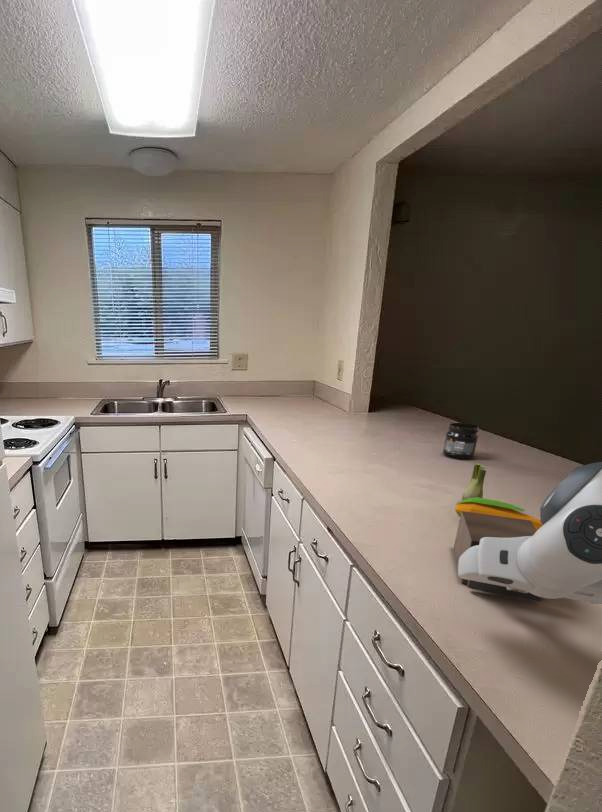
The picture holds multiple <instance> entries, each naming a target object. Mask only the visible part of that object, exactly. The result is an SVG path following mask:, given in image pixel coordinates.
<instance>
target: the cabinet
mask: <svg viewBox="0 0 602 812" xmlns="http://www.w3.org/2000/svg"><path fill="white" fill-rule="evenodd" d="M536 531H537V530H536V528H535V527H534V525H533V524H532V522H531V521H529V520H522V519H515V518H508V517H501V516H494V515H487V514H479V513H472V512H465V511H462V513H461V517H460V516H459V522H458V526H457V531H456V536H455V539H454V544H453V549H452V550H453V554H454V558H455V562H456V566H457V567H458V563H459V558H460V556H461V555H462V554H463V553H464V552H465V551H466V550H468V549H469V548H471V547H473V546H476V545H479V543H480V539H481V538H484V537H500V538H514V537H524V536H533V535H534V534H535V532H536ZM459 578H460V582H461V584H462V585H463V584H464V585H467V583H468V580H467V579H463V578H461V577H459Z"/></svg>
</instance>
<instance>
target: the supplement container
mask: <svg viewBox="0 0 602 812" xmlns="http://www.w3.org/2000/svg"><path fill="white" fill-rule="evenodd" d="M478 432H479V425H476V424H473V423H467V422H466V423H465V422H452V423H450V424H448V431H446V433H445V440H444V445H443V449H442V454H443V455H444V456H445V457H447V458H450V459H456V460H471V459H473V458H474V456H475V451H476V447H477V442H478V439H479V434H478Z"/></svg>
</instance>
